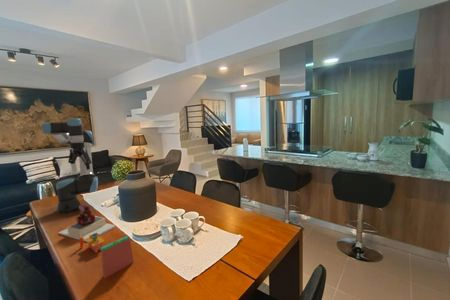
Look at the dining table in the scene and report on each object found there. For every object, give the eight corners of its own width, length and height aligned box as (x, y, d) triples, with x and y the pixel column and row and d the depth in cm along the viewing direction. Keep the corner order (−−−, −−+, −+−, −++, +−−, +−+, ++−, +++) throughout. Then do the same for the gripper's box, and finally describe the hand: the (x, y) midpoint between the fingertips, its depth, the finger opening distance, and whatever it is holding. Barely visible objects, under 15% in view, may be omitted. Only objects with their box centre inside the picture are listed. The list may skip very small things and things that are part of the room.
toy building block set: (105, 278, 88) (100, 247, 86) (76, 249, 110) (72, 223, 108) (133, 262, 98) (130, 233, 96) (102, 238, 120) (99, 214, 118)
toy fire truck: (85, 227, 122) (82, 210, 121) (75, 222, 129) (73, 206, 128) (97, 222, 128) (95, 205, 127) (87, 217, 135) (85, 202, 133)
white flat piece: (88, 220, 142) (87, 213, 142) (115, 226, 132) (115, 218, 131) (58, 233, 126) (57, 225, 125) (87, 242, 116) (86, 233, 115)
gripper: (59, 142, 140) (63, 173, 143) (83, 142, 130) (88, 176, 133) (71, 141, 147) (75, 171, 150) (95, 141, 137) (99, 173, 140)
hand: (81, 173), depth 142 cm, fingers open, 13 cm apart
